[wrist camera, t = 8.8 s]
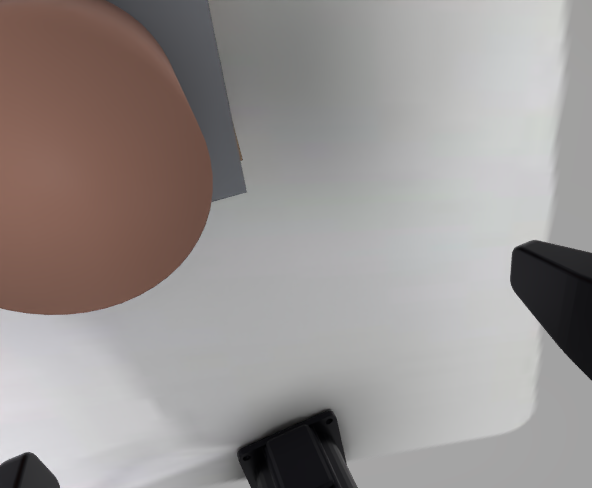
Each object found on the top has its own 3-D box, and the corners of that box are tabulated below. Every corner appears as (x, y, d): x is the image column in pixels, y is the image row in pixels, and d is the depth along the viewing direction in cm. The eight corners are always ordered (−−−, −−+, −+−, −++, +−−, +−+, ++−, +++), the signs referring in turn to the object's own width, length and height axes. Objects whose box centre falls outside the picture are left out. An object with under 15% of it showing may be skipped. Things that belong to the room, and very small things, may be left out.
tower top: (224, 156, 17) (246, 192, 15) (14, 211, 16) (0, 260, 13) (171, -81, 13) (189, -86, 11) (-117, -39, 12) (-172, -34, 9)
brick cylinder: (206, 161, 14) (246, 255, 9) (27, 222, 13) (-11, 352, 9) (133, -41, 11) (146, -27, 7) (-104, 25, 10) (-249, 86, 6)
